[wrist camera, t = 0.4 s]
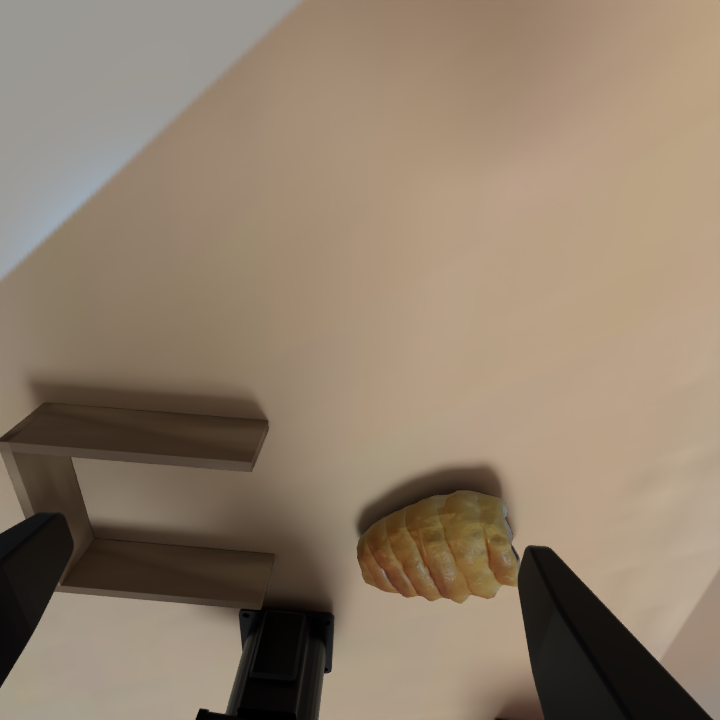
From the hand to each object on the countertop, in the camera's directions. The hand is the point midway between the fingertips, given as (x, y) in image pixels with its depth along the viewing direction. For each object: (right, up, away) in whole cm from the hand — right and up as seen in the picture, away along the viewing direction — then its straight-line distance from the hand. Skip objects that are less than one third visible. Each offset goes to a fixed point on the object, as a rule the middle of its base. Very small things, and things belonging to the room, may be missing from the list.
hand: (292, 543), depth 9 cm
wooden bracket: (-10, -4, +19) cm, 22 cm away
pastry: (+3, -5, +19) cm, 20 cm away
